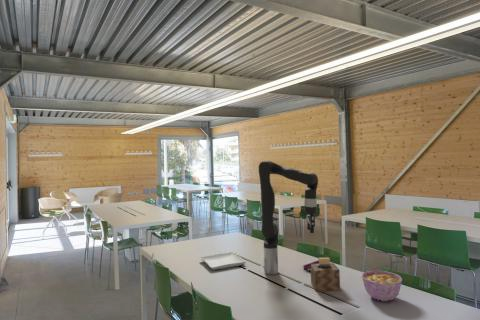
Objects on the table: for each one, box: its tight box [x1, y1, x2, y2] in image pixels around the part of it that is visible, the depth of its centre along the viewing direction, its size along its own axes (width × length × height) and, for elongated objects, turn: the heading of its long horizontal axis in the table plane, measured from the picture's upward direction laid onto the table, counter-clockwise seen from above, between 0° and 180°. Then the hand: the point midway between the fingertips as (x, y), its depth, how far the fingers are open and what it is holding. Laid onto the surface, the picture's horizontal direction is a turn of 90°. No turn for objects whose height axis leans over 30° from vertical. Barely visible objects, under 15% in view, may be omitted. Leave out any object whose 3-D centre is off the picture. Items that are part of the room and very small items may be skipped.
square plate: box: [199, 252, 247, 271], centre depth 248 cm, size 27×27×4 cm
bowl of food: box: [361, 270, 403, 302], centre depth 179 cm, size 20×20×12 cm
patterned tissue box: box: [310, 262, 341, 292], centre depth 197 cm, size 14×12×12 cm
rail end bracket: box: [318, 256, 331, 268], centre depth 197 cm, size 6×3×10 cm, turn 88°
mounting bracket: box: [302, 259, 319, 269], centre depth 225 cm, size 9×8×18 cm
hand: (310, 231), depth 208 cm, fingers open, 8 cm apart
